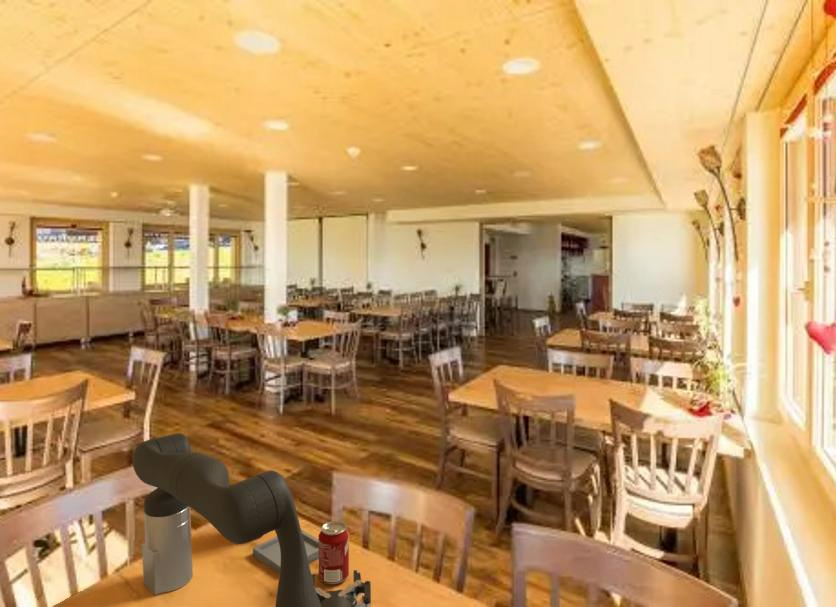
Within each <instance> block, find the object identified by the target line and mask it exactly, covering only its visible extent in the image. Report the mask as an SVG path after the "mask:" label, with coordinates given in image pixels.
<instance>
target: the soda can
mask: <svg viewBox="0 0 836 607" xmlns="http://www.w3.org/2000/svg"><path fill="white" fill-rule="evenodd" d="M349 538H350V537H349V531H348V530H347V526H346V524H345V523H344V522H341V521H337V520H335V521H334V520H333V521H328V522H325V523H324V524H323V525H322V526H321V530H320V532H319V534H318V539H319V559H318V578H319V580H320V581H321V582H322V583H324V584H328V585H337V584H340V583H342V582H345V580H347V579H348V577H349V575H350V570H349V569H350V558H349V556H350V555H349V554H350V553H349V551H350V549H349V545H350V543H349V542H350V541H349Z"/></svg>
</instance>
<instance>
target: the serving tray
mask: <svg viewBox="0 0 836 607" xmlns="http://www.w3.org/2000/svg"><path fill="white" fill-rule="evenodd" d="M301 532H302V535H303V540H304V544H305V548H306V553H307V557H308V562H309V565H310V564H312V563H313V562H315V561H317V560H319V538H317V537H315V536H313V535H312V534H310V533H308V532H306V531H304V530H303V529H301ZM252 557H254V558H255V559H257V560H259V561H260V562H261V563H263V564H264V565H265V566H267V567H268V568H270V569H271V570H273V571H275V572H276V573H277V574H278V575H280V565H281V552H280V545H279V541H278V538H277V536H275V537H273V538H271V539H268V540H267V541H264V542H262V543H261V544H258V545H255V546H253V547H252Z"/></svg>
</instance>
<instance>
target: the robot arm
mask: <svg viewBox="0 0 836 607" xmlns="http://www.w3.org/2000/svg"><path fill="white" fill-rule="evenodd" d="M131 460H132V467H133V470H134V472H135V475H136V476H137V478H138V479H139V480H140V481H141V482H142V483H144V484H146V485H148V486H151V487H155V489H154V490H153V491H151V492H150V493H149V494H147V495H146V497H145V499H144V501H143V510H144V511H143V515H144V537H145V541H144V542H143V543H142V544H141V553H142V572H143V573H142V574H143V576H142V577H143V579H142V580H143V585H144V586H145V587H146V588H147V589H148V590H149V591H150V592H151V594H153V595H154V596H157V595H159V594H162V593H169V592H172V591H175V590H178V589H180V588H182V587H184V586H185V585H187V584H188V583H189V582H190V581H191V580H192V579H193V573H194V572H193V555H192V554H193V552H192V550H193V549H192V526H191V525H192V522H191V509H192V510H194V511H195V512H196V513H198V514H199V515H201V516H202V517H203V518H204V519H206V520H207V522H208V523H210V525H212V527H214V529H215V530H216V531H217V532H218V533H219V534H220V535H221V536H222V537H224V538H225V539H226V540H227V541H228V542H230V543H231V544H235V545H244V544H248V543H250V542H253V541H255V539H256V538H259V537H261V536H262V537H263V536H264V535H267V534H269V533H271V532H273V531H274V532H275V535H276V537H277V538H278V541H279V545H280V552H281V565H280V574H279V577H278V578H279V579H278V584H277V591H276V599H275V607H372V598H371V597H372V595H371V594H372V590H371V589H372V588H371V583H372V582H371V581H370V580H366V581H364V582H362V578H361V576H362V574H361V573H360V572H358V570H353V582H352V583H351V584H350V583H349V584H348V585H347V586H345V588H344V589H337V590H326V591H325V590H323V589H322V588H320V587H316V573H312V572H311V567H310V564H309V562H308V557H307V553H306V548H305V544H304V540H303V535H302V532H301V530H302V528H301V525H300V520H299V516H298V513H297V512H298V511H297V509H296V508H297V507H296V504H295V501H294V497H293V495H292V491H291V488H290V487H289V485H288V483H287V481H286V480H285V478H284V477H283V475H281V474H280V473H279V472H277V471H276V470H267V471H264V472H261V473H259V474H256V475H253V476H251V477H248V478H247V479H243V480H240V481H238V482H236V483H233V484H230V474H229V471H228V469H227V467H226V465H225V464H224V463H223V462H222V461H220V460H218V459H217V458H214V457H213V456H210V455H208V454H205V453H201V452H193V451H192V449H191V445H190V441H189V438H188V437H187V436H186V435H185V434H183V433H180V432H179V433H173V434H168V435H164V436H160V437H154V438H151V439H147V440H145V441H142V442H141V443H139V444H138V445H137V446H136V447H135V449H134V451H133V454H132V459H131ZM259 539H260V538H259ZM256 540H257V539H256ZM361 594H362V595H361ZM360 595H361V597H360ZM358 597H360V599H359V600H357V598H358Z"/></svg>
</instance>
